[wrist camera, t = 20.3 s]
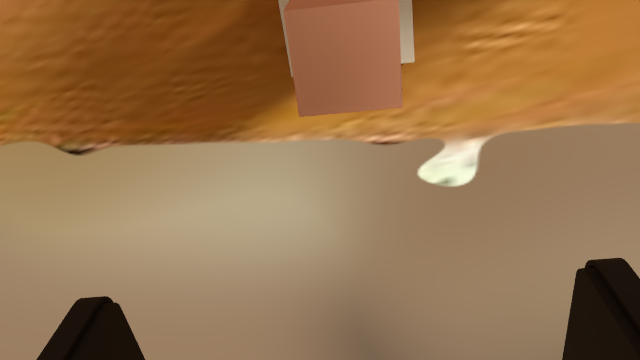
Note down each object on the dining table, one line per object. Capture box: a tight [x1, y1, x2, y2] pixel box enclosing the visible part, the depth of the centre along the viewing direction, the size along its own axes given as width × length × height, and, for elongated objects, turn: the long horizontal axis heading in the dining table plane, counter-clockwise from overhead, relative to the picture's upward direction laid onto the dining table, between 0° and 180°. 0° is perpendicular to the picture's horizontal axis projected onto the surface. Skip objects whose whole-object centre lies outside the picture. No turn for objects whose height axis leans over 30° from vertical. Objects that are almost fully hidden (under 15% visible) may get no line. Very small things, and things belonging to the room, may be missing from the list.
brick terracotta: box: [283, 0, 403, 117], centre depth 29 cm, size 6×6×6 cm
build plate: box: [278, 0, 415, 77], centre depth 39 cm, size 11×11×5 cm
